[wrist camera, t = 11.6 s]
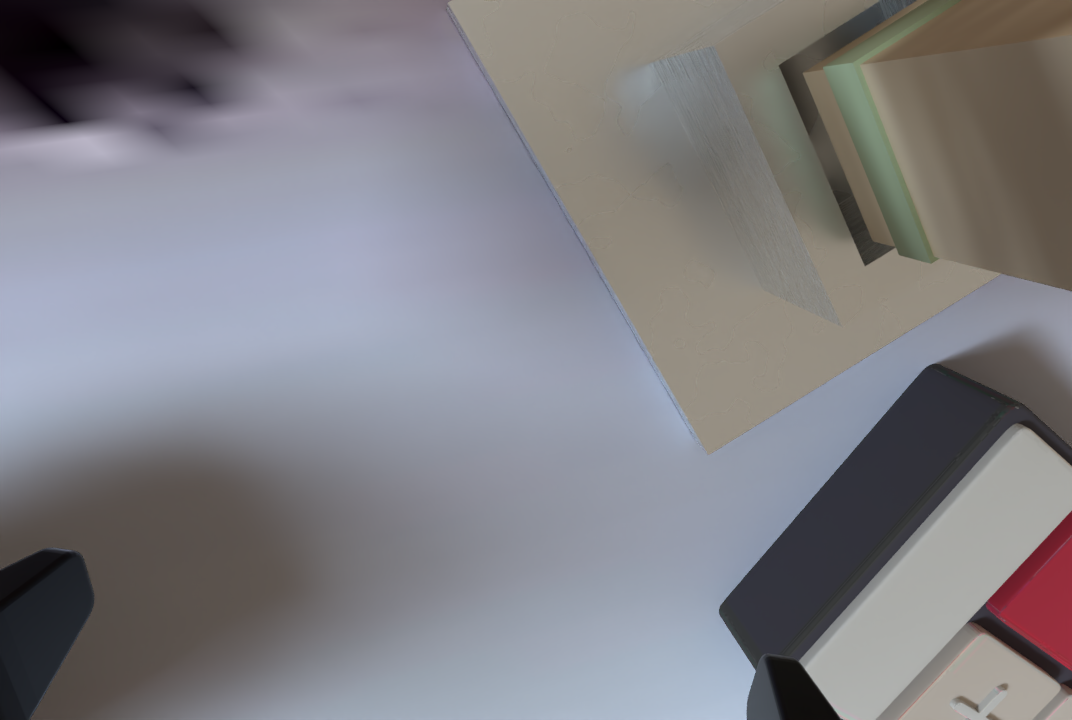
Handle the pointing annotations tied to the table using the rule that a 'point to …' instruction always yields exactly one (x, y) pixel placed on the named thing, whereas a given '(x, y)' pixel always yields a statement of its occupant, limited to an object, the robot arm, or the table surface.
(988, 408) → the calculator
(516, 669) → the table surface
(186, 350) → the table surface
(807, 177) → the sleeve stand
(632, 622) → the table surface
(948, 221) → the column
